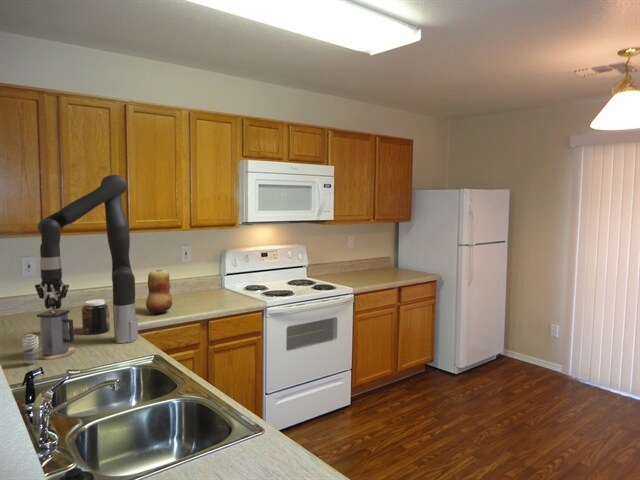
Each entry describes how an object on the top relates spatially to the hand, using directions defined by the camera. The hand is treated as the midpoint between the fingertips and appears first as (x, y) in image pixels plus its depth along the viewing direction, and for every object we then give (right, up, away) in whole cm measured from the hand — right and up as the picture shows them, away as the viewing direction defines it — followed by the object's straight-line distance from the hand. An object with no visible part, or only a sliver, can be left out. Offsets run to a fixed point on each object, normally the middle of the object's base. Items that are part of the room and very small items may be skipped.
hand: (53, 308), depth 189 cm
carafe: (+1, -19, +2) cm, 19 cm away
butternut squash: (+20, -13, +68) cm, 72 cm away
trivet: (0, -19, +2) cm, 19 cm away
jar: (+1, -17, +34) cm, 38 cm away
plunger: (0, -16, +2) cm, 16 cm away
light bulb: (-3, -21, -10) cm, 23 cm away
